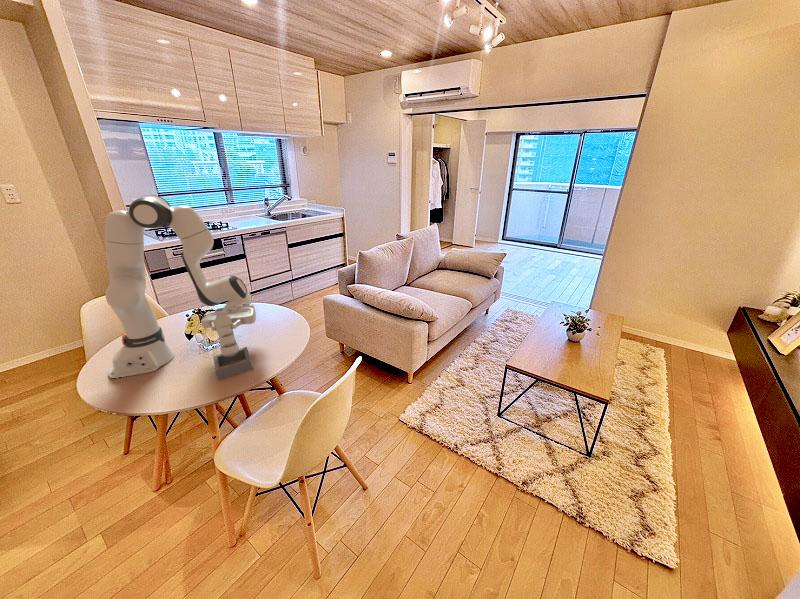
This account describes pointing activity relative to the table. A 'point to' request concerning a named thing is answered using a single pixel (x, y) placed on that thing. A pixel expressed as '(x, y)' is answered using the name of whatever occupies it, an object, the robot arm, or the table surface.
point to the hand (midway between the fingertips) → (223, 328)
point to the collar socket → (232, 368)
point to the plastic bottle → (225, 333)
